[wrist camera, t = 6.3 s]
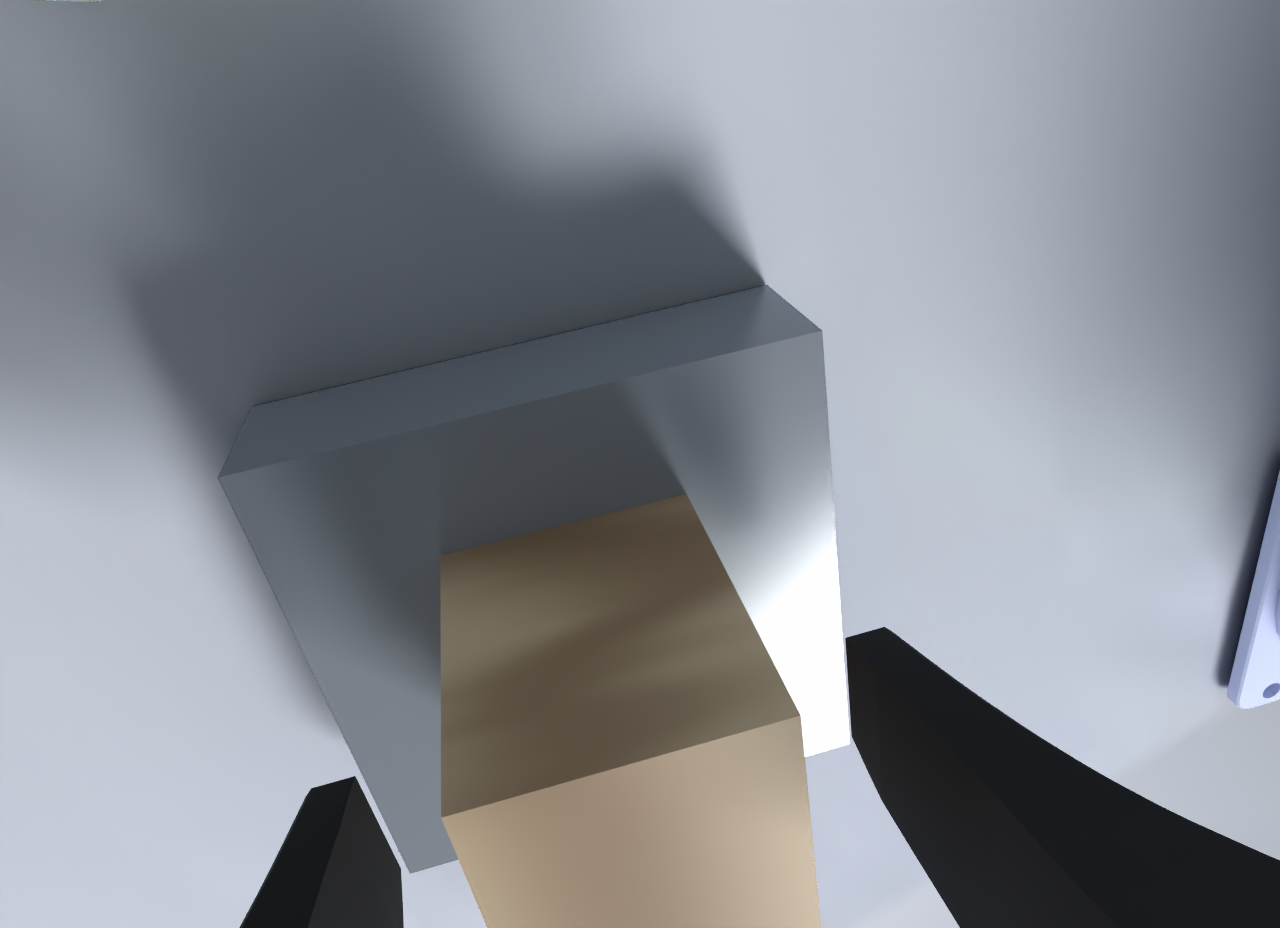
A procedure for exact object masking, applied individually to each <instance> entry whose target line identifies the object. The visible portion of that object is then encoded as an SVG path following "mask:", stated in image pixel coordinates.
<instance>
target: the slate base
mask: <svg viewBox="0 0 1280 928" xmlns="http://www.w3.org/2000/svg"><path fill="white" fill-rule="evenodd" d="M218 479H219V481H220V483H221V485H222V487H223V490H224V492H225V494H226V496H227V498H228V500H229V502H230V504H231V506H232V508H233V510H234V512H235V514H236V516H237V518H238V520H239V522H240V525H241V527H242V529H243V531H244V533H245V535H246V537H247V539H248V541H249V543H250V545H251V547H252V549H253V551H254V553H255V555H256V557H257V560H258V562H259V564H260V566H261V568H262V570H263V572H264V574H265V576H266V578H267V580H268V582H269V584H270V586H271V588H272V590H273V592H274V595H275V597H276V599H277V601H278V603H279V605H280V607H281V609H282V611H283V613H284V615H285V617H286V619H287V621H288V623H289V625H290V627H291V629H292V632H293V634H294V636H295V638H296V640H297V642H298V644H299V646H300V648H301V650H302V652H303V654H304V656H305V658H306V660H307V662H308V664H309V667H310V669H311V671H312V673H313V675H314V677H315V679H316V681H317V683H318V685H319V687H320V689H321V691H322V693H323V695H324V697H325V699H326V702H327V704H328V706H329V708H330V710H331V712H332V714H333V716H334V718H335V720H336V722H337V724H338V726H339V728H340V730H341V732H342V734H343V737H344V739H345V741H346V743H347V745H348V747H349V749H350V751H351V753H352V755H353V757H354V759H355V761H356V763H357V765H358V767H359V769H360V772H361V774H362V776H363V778H364V780H365V782H366V784H367V786H368V788H369V790H370V792H371V794H372V796H373V798H374V800H375V802H376V804H377V807H378V809H379V811H380V813H381V815H382V817H383V819H384V821H385V823H386V825H387V827H388V829H389V831H390V833H391V835H392V837H393V839H394V842H395V844H396V846H397V848H398V850H399V852H400V854H401V856H402V858H403V860H404V862H405V864H406V866H407V868H408V870H409V872H410V874H411V873H414V872H417V871H421V870H424V869H428V868H431V867H434V866H438V865H441V864H445V863H448V862H451V861H455V860H458V857H457V854H456V852H455V850H454V847H453V845H452V843H451V840H450V838H449V836H448V833H447V831H446V828H445V826H444V824H443V821H442V819H441V598H440V556H442V555H446V554H450V553H454V552H458V551H462V550H466V549H470V548H474V547H478V546H482V545H486V544H490V543H494V542H498V541H502V540H506V539H510V538H513V537H517V536H521V535H525V534H529V533H533V532H537V531H541V530H545V529H549V528H553V527H557V526H561V525H565V524H569V523H573V522H577V521H581V520H585V519H589V518H592V517H596V516H600V515H604V514H608V513H612V512H616V511H620V510H624V509H628V508H632V507H636V506H640V505H644V504H648V503H652V502H656V501H660V500H664V499H668V498H671V497H675V496H679V495H683V494H687V496H688V498H689V500H690V501H691V503H692V505H693V507H694V509H695V511H696V513H697V515H698V517H699V519H700V521H701V523H702V525H703V527H704V529H705V531H706V533H707V534H708V536H709V538H710V540H711V542H712V544H713V546H714V548H715V550H716V552H717V554H718V556H719V558H720V560H721V562H722V564H723V566H724V567H725V569H726V571H727V573H728V575H729V577H730V579H731V581H732V583H733V585H734V587H735V589H736V591H737V593H738V595H739V597H740V599H741V600H742V602H743V604H744V606H745V608H746V610H747V612H748V614H749V616H750V618H751V620H752V622H753V624H754V626H755V628H756V630H757V632H758V634H759V635H760V637H761V639H762V641H763V643H764V645H765V647H766V649H767V651H768V653H769V655H770V657H771V659H772V661H773V663H774V665H775V667H776V668H777V670H778V672H779V674H780V676H781V678H782V680H783V682H784V684H785V686H786V688H787V690H788V692H789V694H790V696H791V698H792V700H793V701H794V703H795V705H796V707H797V709H798V711H799V713H800V715H801V723H802V734H803V744H804V755H805V757H807V756H811V755H814V754H817V753H821V752H824V751H828V750H831V749H834V748H838V747H841V746H845V745H848V744H850V739H849V724H848V710H847V695H846V680H845V665H844V650H843V635H842V620H841V605H840V590H839V575H838V560H837V545H836V530H835V515H834V500H833V485H832V470H831V455H830V441H829V426H828V411H827V396H826V381H825V366H824V351H823V336H822V330H821V329H820V328H818V327H817V326H816V325H815V324H814V323H812V322H811V321H810V320H809V319H808V318H806V317H805V316H804V315H803V314H802V313H800V312H799V311H798V310H797V309H795V308H794V307H793V306H792V305H791V304H789V303H788V302H787V301H786V300H785V299H783V298H782V297H781V296H780V295H779V294H777V293H776V292H775V291H774V290H773V289H771V288H770V287H769V286H768V285H764V286H760V287H756V288H752V289H747V290H743V291H739V292H735V293H730V294H726V295H722V296H718V297H714V298H709V299H705V300H701V301H697V302H692V303H688V304H684V305H680V306H676V307H671V308H667V309H663V310H659V311H654V312H650V313H646V314H642V315H637V316H633V317H629V318H625V319H621V320H616V321H612V322H608V323H604V324H599V325H595V326H591V327H587V328H583V329H578V330H574V331H570V332H566V333H561V334H557V335H553V336H549V337H545V338H540V339H536V340H532V341H528V342H523V343H519V344H515V345H511V346H506V347H502V348H498V349H494V350H490V351H485V352H481V353H477V354H473V355H468V356H464V357H460V358H456V359H452V360H447V361H443V362H439V363H435V364H430V365H426V366H422V367H418V368H413V369H409V370H405V371H401V372H397V373H392V374H388V375H384V376H380V377H375V378H371V379H367V380H363V381H359V382H354V383H350V384H346V385H342V386H337V387H333V388H329V389H325V390H320V391H316V392H312V393H308V394H304V395H299V396H295V397H291V398H287V399H282V400H278V401H274V402H270V403H266V404H261V405H257V406H253V407H251V409H250V411H249V414H248V416H247V418H246V420H245V422H244V424H243V426H242V428H241V430H240V432H239V435H238V437H237V439H236V441H235V443H234V445H233V447H232V449H231V451H230V453H229V456H228V458H227V460H226V462H225V464H224V466H223V468H222V470H221V472H220V474H219V477H218Z"/></svg>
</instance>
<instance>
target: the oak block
mask: <svg viewBox="0 0 1280 928" xmlns="http://www.w3.org/2000/svg"><path fill="white" fill-rule="evenodd" d="M440 598H441V819H442V821H443V824H444V826H445V828H446V831H447V833H448V836H449V838H450V840H451V843H452V845H453V847H454V850H455V852H456V854H457V857H458V859H459V862H460V864H461V866H462V869H463V871H464V873H465V876H466V878H467V880H468V883H469V885H470V888H471V890H472V892H473V895H474V897H475V899H476V902H477V904H478V906H479V909H480V911H481V914H482V916H483V918H484V921H485V923H486V925H487V928H821V921H820V911H819V900H818V890H817V880H816V869H815V859H814V848H813V838H812V827H811V817H810V807H809V796H808V786H807V775H806V765H805V755H804V744H803V734H802V723H801V715H800V713H799V711H798V709H797V707H796V705H795V703H794V701H793V700H792V698H791V696H790V694H789V692H788V690H787V688H786V686H785V684H784V682H783V680H782V678H781V676H780V674H779V672H778V670H777V668H776V667H775V665H774V663H773V661H772V659H771V657H770V655H769V653H768V651H767V649H766V647H765V645H764V643H763V641H762V639H761V637H760V635H759V634H758V632H757V630H756V628H755V626H754V624H753V622H752V620H751V618H750V616H749V614H748V612H747V610H746V608H745V606H744V604H743V602H742V600H741V599H740V597H739V595H738V593H737V591H736V589H735V587H734V585H733V583H732V581H731V579H730V577H729V575H728V573H727V571H726V569H725V567H724V566H723V564H722V562H721V560H720V558H719V556H718V554H717V552H716V550H715V548H714V546H713V544H712V542H711V540H710V538H709V536H708V534H707V533H706V531H705V529H704V527H703V525H702V523H701V521H700V519H699V517H698V515H697V513H696V511H695V509H694V507H693V505H692V503H691V501H690V500H689V498H688V496H687V494H683V495H679V496H675V497H671V498H668V499H664V500H660V501H656V502H652V503H648V504H644V505H640V506H636V507H632V508H628V509H624V510H620V511H616V512H612V513H608V514H604V515H600V516H596V517H592V518H589V519H585V520H581V521H577V522H573V523H569V524H565V525H561V526H557V527H553V528H549V529H545V530H541V531H537V532H533V533H529V534H525V535H521V536H517V537H513V538H510V539H506V540H502V541H498V542H494V543H490V544H486V545H482V546H478V547H474V548H470V549H466V550H462V551H458V552H454V553H450V554H446V555H442V556H440Z"/></svg>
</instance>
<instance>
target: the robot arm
mask: <svg viewBox="0 0 1280 928" xmlns="http://www.w3.org/2000/svg"><path fill="white" fill-rule="evenodd" d="M846 654H847V669H848V685H849V700H850V716H851V731H852V738H853V740H854V742H855V744H856V746H857V749H858V751H859V753H860V755H861V757H862V759H863V762H864V764H865V766H866V768H867V770H868V773H869V775H870V777H871V779H872V781H873V783H874V785H875V787H876V789H877V791H878V793H879V795H880V797H881V800H882V801H883V803H884V805H885V806H886V808H887V810H888V811H889V813H890V815H891V816H892V818H893V820H894V821H895V823H896V825H897V826H898V828H899V829H900V831H901V833H902V834H903V836H904V838H905V839H906V841H907V843H908V844H909V846H910V847H911V849H912V851H913V852H914V854H915V856H916V857H917V859H918V860H919V862H920V864H921V865H922V867H923V869H924V870H925V872H926V873H927V875H928V877H929V878H930V880H931V881H932V883H933V885H934V886H935V888H936V890H937V891H938V893H939V894H940V896H941V898H942V899H943V901H944V902H945V904H946V906H947V907H948V909H949V911H950V912H951V914H952V915H953V917H954V919H955V920H956V922H957V924H958V925H959V927H960V928H1280V860H1277V859H1275V858H1273V857H1270V856H1268V855H1266V854H1263V853H1261V852H1259V851H1257V850H1254V849H1252V848H1250V847H1248V846H1245V845H1243V844H1241V843H1239V842H1236V841H1234V840H1232V839H1230V838H1228V837H1225V836H1223V835H1221V834H1219V833H1216V832H1214V831H1212V830H1210V829H1207V828H1205V827H1203V826H1201V825H1199V824H1196V823H1194V822H1192V821H1190V820H1187V819H1186V818H1184V817H1182V816H1180V815H1177V814H1175V813H1173V812H1171V811H1169V810H1167V809H1165V808H1163V807H1161V806H1159V805H1157V804H1155V803H1153V802H1151V801H1150V800H1148V799H1146V798H1144V797H1142V796H1140V795H1138V794H1136V793H1135V792H1133V791H1131V790H1129V789H1127V788H1125V787H1123V786H1122V785H1120V784H1118V783H1116V782H1114V781H1112V780H1111V779H1109V778H1107V777H1105V776H1104V775H1102V774H1100V773H1098V772H1097V771H1095V770H1093V769H1091V768H1090V767H1088V766H1086V765H1085V764H1083V763H1081V762H1079V761H1078V760H1076V759H1074V758H1073V757H1071V756H1070V755H1068V754H1066V753H1065V752H1063V751H1061V750H1060V749H1058V748H1057V747H1055V746H1053V745H1052V744H1050V743H1049V742H1047V741H1045V740H1044V739H1042V738H1041V737H1039V736H1037V735H1036V734H1034V733H1033V732H1031V731H1030V730H1028V729H1027V728H1025V727H1024V726H1022V725H1020V724H1019V723H1018V722H1016V721H1015V720H1013V719H1012V718H1010V717H1009V716H1007V715H1006V714H1004V713H1003V712H1001V711H1000V710H998V709H997V708H996V707H994V706H993V705H991V704H990V703H988V702H987V701H985V700H984V699H982V698H981V697H979V696H978V695H977V694H975V693H974V692H972V691H971V690H970V689H968V688H967V687H965V686H964V685H963V684H961V683H960V682H958V681H957V680H956V679H954V678H953V677H952V676H950V675H949V674H948V673H946V672H945V671H944V670H942V669H941V668H939V667H938V666H937V665H935V664H934V663H933V662H931V661H930V660H929V659H927V658H926V657H925V656H923V655H922V654H921V653H920V652H918V651H917V650H916V649H914V648H913V647H912V646H910V645H909V644H908V643H906V642H905V641H904V640H902V639H901V638H900V637H899V636H897V635H896V634H895V633H893V632H892V631H890V630H889V629H887V628H885V627H883V628H879V629H876V630H872V631H869V632H865V633H861V634H858V635H854V636H851V637H847V638H846ZM1227 697H1228V698H1229V699H1230V700H1231V701H1232V702H1233V703H1234V704H1235V705H1237V706H1238V707H1239V708H1242V709H1248V708H1253V707H1256V706H1260V705H1263V704H1266V703H1269V702H1273V701H1276V700H1279V699H1280V471H1279V475H1278V479H1277V483H1276V488H1275V492H1274V496H1273V500H1272V504H1271V509H1270V513H1269V517H1268V521H1267V526H1266V530H1265V534H1264V538H1263V542H1262V547H1261V551H1260V555H1259V559H1258V564H1257V568H1256V572H1255V576H1254V580H1253V585H1252V589H1251V593H1250V597H1249V601H1248V606H1247V610H1246V614H1245V618H1244V623H1243V627H1242V631H1241V635H1240V639H1239V644H1238V648H1237V652H1236V656H1235V660H1234V665H1233V669H1232V673H1231V677H1230V682H1229V686H1228V690H1227ZM240 928H403V902H402V883H401V868H400V866H399V864H398V862H397V860H396V858H395V856H394V854H393V852H392V850H391V848H390V846H389V844H388V842H387V840H386V838H385V836H384V834H383V832H382V830H381V828H380V826H379V823H378V821H377V819H376V817H375V815H374V813H373V811H372V809H371V807H370V805H369V803H368V801H367V799H366V797H365V795H364V793H363V791H362V789H361V787H360V785H359V783H358V781H357V779H356V777H355V776H354V777H351V778H347V779H344V780H340V781H337V782H333V783H329V784H326V785H322V786H319V787H315V788H312V789H311V790H310V791H309V793H308V794H307V796H306V797H305V800H304V802H303V804H302V806H301V808H300V810H299V812H298V814H297V816H296V818H295V820H294V822H293V824H292V826H291V828H290V830H289V832H288V834H287V836H286V838H285V840H284V842H283V844H282V847H281V849H280V851H279V853H278V855H277V857H276V859H275V861H274V863H273V865H272V867H271V869H270V871H269V873H268V875H267V876H266V878H265V880H264V882H263V884H262V886H261V888H260V890H259V892H258V894H257V896H256V898H255V900H254V902H253V904H252V905H251V907H250V909H249V911H248V913H247V915H246V917H245V919H244V920H243V922H242V924H241V926H240Z"/></svg>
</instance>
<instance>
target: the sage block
mask: <svg viewBox="0 0 1280 928" xmlns="http://www.w3.org/2000/svg"><path fill="white" fill-rule="evenodd" d="M47 1H77V2H102V1H103V0H47Z"/></svg>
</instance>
